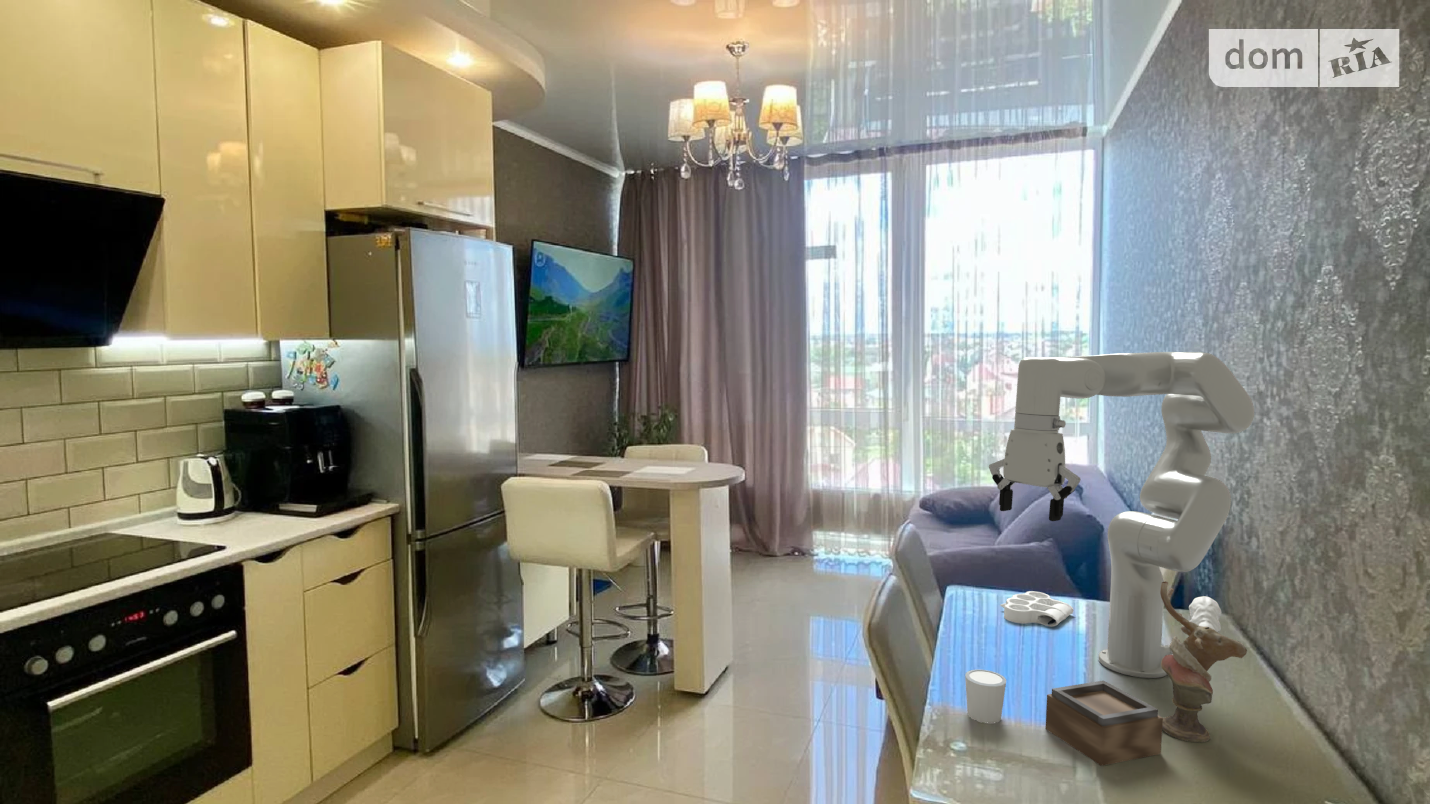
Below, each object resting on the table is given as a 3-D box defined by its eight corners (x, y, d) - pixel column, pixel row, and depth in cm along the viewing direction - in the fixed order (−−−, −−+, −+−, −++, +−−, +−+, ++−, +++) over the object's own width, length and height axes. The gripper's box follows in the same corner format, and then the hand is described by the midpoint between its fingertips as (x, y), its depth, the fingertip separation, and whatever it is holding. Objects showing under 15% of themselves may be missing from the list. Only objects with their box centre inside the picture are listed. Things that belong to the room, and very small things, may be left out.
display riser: (1101, 718, 134) (1103, 678, 133) (1160, 753, 122) (1163, 710, 122) (1045, 728, 130) (1047, 687, 129) (1101, 765, 118) (1103, 720, 118)
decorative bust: (1262, 737, 125) (1242, 586, 125) (1198, 756, 122) (1177, 602, 122) (1206, 712, 136) (1187, 573, 136) (1146, 729, 133) (1126, 587, 133)
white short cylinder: (1008, 727, 130) (1009, 687, 130) (966, 722, 132) (967, 683, 131) (1001, 708, 137) (1003, 670, 136) (961, 704, 138) (962, 667, 138)
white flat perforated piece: (1051, 633, 175) (989, 617, 185) (1077, 613, 188) (1017, 600, 198) (1052, 619, 174) (989, 604, 184) (1078, 600, 188) (1018, 587, 198)
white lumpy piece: (1222, 596, 174) (1225, 616, 164) (1219, 631, 175) (1222, 654, 165) (1189, 591, 177) (1190, 611, 167) (1187, 625, 179) (1188, 647, 168)
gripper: (1092, 428, 137) (1085, 522, 138) (1004, 419, 151) (998, 505, 152) (1072, 429, 133) (1065, 526, 134) (982, 419, 146) (976, 508, 147)
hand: (1029, 515), depth 143 cm, fingers open, 9 cm apart
